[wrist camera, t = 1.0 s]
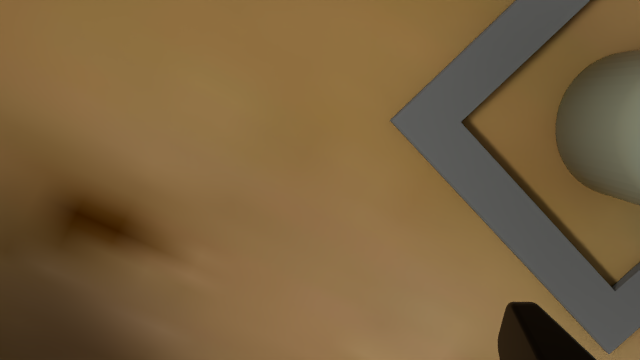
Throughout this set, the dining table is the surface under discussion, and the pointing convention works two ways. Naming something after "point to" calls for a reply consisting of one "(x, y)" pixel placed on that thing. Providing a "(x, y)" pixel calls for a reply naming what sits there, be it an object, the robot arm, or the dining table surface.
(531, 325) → the robot arm
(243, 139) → the dining table surface
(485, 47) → the dot frame
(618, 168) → the sage cup
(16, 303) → the dining table surface
